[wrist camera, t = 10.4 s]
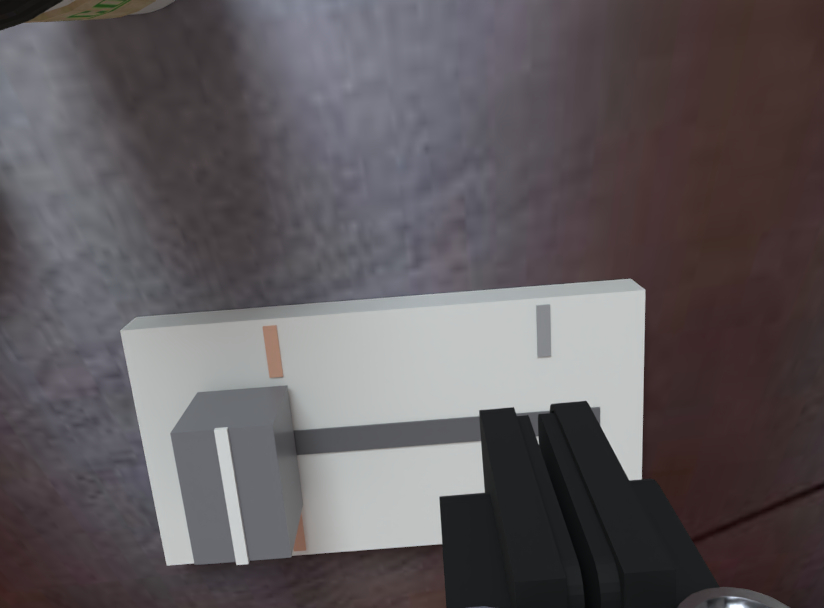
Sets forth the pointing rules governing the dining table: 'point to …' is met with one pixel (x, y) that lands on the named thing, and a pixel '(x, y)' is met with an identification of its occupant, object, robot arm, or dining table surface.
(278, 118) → the dining table surface
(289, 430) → the fader
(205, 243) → the dining table surface
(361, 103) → the dining table surface
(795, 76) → the dining table surface
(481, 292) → the fader board
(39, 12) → the coffee cup
